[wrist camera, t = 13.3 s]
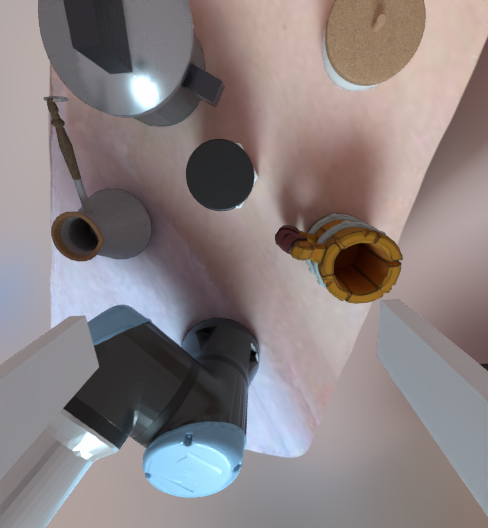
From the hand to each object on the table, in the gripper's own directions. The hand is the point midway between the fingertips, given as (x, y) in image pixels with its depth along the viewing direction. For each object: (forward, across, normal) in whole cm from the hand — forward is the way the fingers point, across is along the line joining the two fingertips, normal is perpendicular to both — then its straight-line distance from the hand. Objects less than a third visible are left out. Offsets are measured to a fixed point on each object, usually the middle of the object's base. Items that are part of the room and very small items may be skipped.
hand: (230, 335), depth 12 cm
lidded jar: (+34, -16, -22) cm, 44 cm away
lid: (+24, +12, -23) cm, 35 cm away
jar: (+34, +3, -8) cm, 35 cm away
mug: (+34, -12, +4) cm, 36 cm away
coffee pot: (+35, +21, -7) cm, 41 cm away
